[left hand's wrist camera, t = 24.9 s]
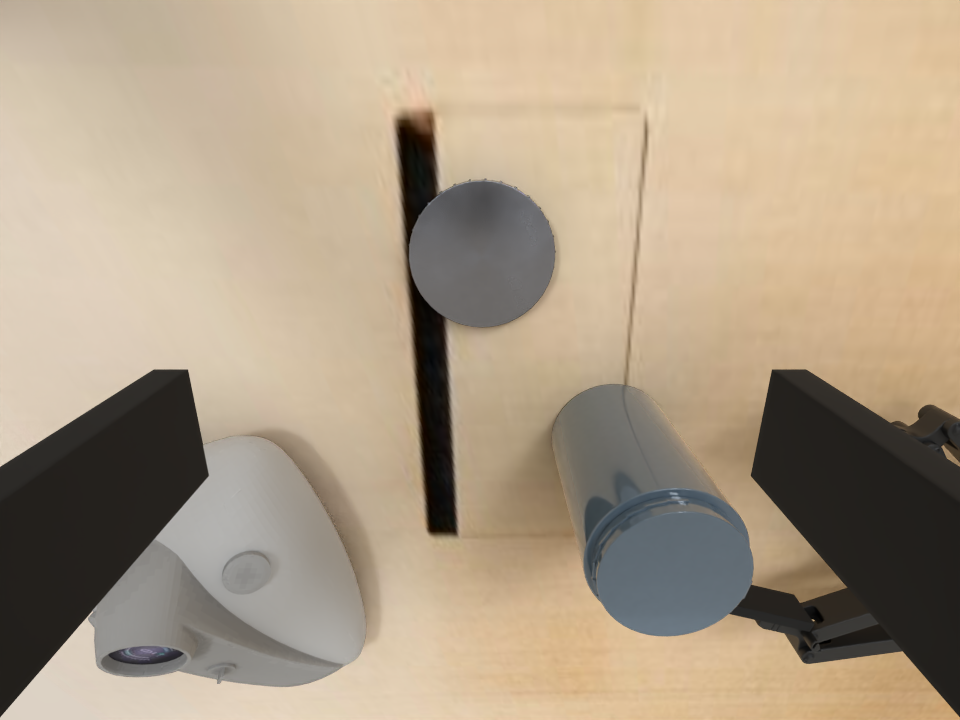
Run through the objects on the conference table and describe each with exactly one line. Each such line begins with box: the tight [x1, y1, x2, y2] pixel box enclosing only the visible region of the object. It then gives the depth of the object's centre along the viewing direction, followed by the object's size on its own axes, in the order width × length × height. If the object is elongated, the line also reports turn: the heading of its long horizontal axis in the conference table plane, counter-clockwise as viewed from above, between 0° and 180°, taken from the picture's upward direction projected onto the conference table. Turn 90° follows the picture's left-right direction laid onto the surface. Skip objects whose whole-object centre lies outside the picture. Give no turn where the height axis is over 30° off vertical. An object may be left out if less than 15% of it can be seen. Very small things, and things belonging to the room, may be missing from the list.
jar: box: [552, 384, 754, 636], centre depth 35 cm, size 9×9×15 cm
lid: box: [409, 178, 555, 327], centre depth 36 cm, size 10×10×2 cm
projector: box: [88, 436, 366, 687], centre depth 38 cm, size 22×23×15 cm
